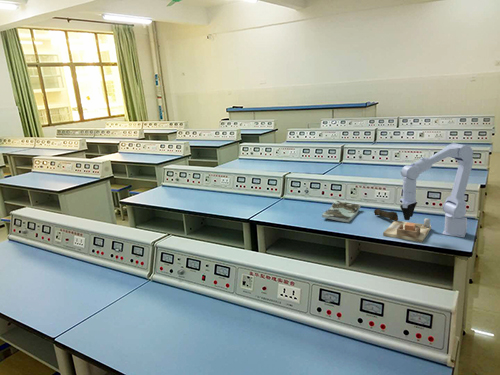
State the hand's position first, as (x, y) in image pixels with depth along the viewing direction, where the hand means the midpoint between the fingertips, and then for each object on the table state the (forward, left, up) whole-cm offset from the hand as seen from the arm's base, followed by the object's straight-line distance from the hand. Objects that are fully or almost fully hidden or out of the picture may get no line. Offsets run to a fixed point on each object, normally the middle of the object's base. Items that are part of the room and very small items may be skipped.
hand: (408, 218), depth 177 cm
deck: (+2, -7, -10) cm, 13 cm away
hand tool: (+20, -25, -13) cm, 34 cm away
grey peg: (-5, -15, -8) cm, 18 cm away
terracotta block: (0, -4, -8) cm, 9 cm away
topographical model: (+42, -20, -11) cm, 48 cm away
